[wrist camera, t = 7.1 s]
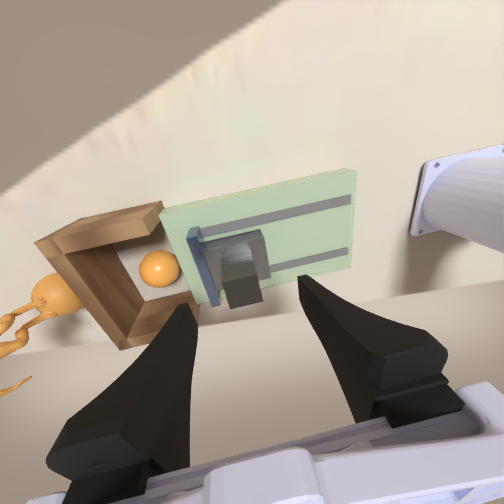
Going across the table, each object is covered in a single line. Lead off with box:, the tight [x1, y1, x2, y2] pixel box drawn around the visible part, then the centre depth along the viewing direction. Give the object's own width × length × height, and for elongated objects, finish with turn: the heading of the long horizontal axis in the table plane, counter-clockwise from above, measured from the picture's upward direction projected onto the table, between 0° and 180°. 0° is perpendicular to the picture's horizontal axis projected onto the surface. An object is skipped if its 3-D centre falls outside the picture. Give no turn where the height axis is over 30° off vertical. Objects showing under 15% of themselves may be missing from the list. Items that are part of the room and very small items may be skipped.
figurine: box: [0, 273, 84, 397], centre depth 15 cm, size 8×6×12 cm
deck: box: [159, 168, 357, 304], centre depth 20 cm, size 17×10×2 cm, turn 101°
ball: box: [139, 250, 180, 288], centre depth 19 cm, size 4×4×4 cm
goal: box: [34, 201, 199, 350], centre depth 18 cm, size 7×11×5 cm, turn 11°
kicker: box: [186, 226, 271, 309], centre depth 16 cm, size 6×7×6 cm
